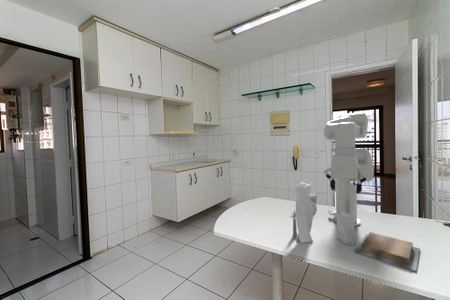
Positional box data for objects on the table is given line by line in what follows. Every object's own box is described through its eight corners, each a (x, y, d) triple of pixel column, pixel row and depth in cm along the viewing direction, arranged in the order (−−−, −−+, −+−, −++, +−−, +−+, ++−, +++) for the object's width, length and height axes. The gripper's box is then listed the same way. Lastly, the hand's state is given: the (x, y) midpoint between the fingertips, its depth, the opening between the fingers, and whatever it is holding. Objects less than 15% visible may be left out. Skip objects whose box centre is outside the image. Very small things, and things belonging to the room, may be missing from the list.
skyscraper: (310, 235, 97) (308, 177, 95) (317, 244, 89) (316, 180, 87) (292, 236, 97) (290, 178, 95) (298, 245, 89) (296, 181, 87)
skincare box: (355, 244, 86) (355, 216, 86) (345, 245, 86) (345, 217, 85) (346, 237, 93) (345, 211, 92) (336, 238, 92) (336, 212, 92)
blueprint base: (354, 252, 81) (354, 244, 81) (365, 235, 93) (365, 229, 93) (416, 272, 68) (416, 263, 68) (419, 249, 80) (420, 242, 80)
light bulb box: (317, 209, 128) (316, 192, 127) (315, 213, 122) (314, 195, 121) (299, 207, 133) (298, 191, 133) (296, 210, 128) (296, 193, 127)
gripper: (320, 152, 91) (321, 189, 92) (366, 152, 78) (367, 196, 79) (326, 150, 96) (327, 186, 97) (371, 151, 83) (371, 192, 84)
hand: (345, 191), depth 88 cm, fingers open, 9 cm apart
